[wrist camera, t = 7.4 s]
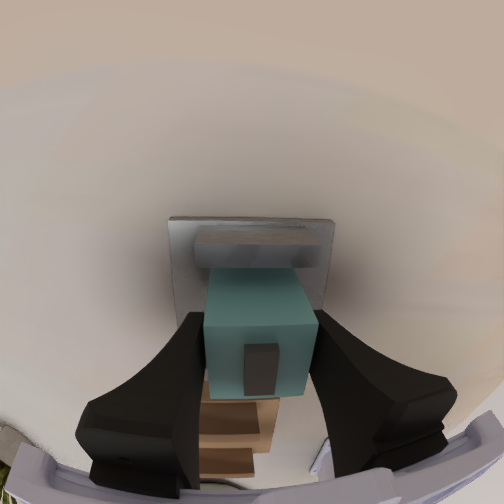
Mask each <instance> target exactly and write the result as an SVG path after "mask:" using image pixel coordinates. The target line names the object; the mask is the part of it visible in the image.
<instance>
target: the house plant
mask: <svg viewBox="0 0 504 504" xmlns="http://www.w3.org/2000/svg"><path fill="white" fill-rule="evenodd" d="M21 442H24V443H26V444H29V445H31V446H33V445H32V443H31V442H30V441H29V440H28V439H27V438H26V437H25V436H23V435H22V434H21V433H19V432H18V431H17V430H15V429H13V428H11V427H9V426H6V425H5V426H4V427H3V428H2V430H1V431H0V500H1V497H2V489H3V504H9V494H8V493H7V492H5V490H4V488H5V485H6V482H7V479H8V476H9V473H10V470H11V467H12V465H13V462H14V459H15V457H16V454H17V452H18V449H19V447H20V444H21ZM3 486H4V488H3ZM11 499H12V504H17V502H16V499H15V498H14V497H12V496H11ZM19 502H20V501H19Z"/></svg>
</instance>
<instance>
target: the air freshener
mask: <svg viewBox="0 0 504 504" xmlns="http://www.w3.org/2000/svg"><path fill="white" fill-rule="evenodd" d="M200 490H214V491H231V490H239V489H237V488H234V487H232V486H230V485H227V484H220V483H200Z"/></svg>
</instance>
